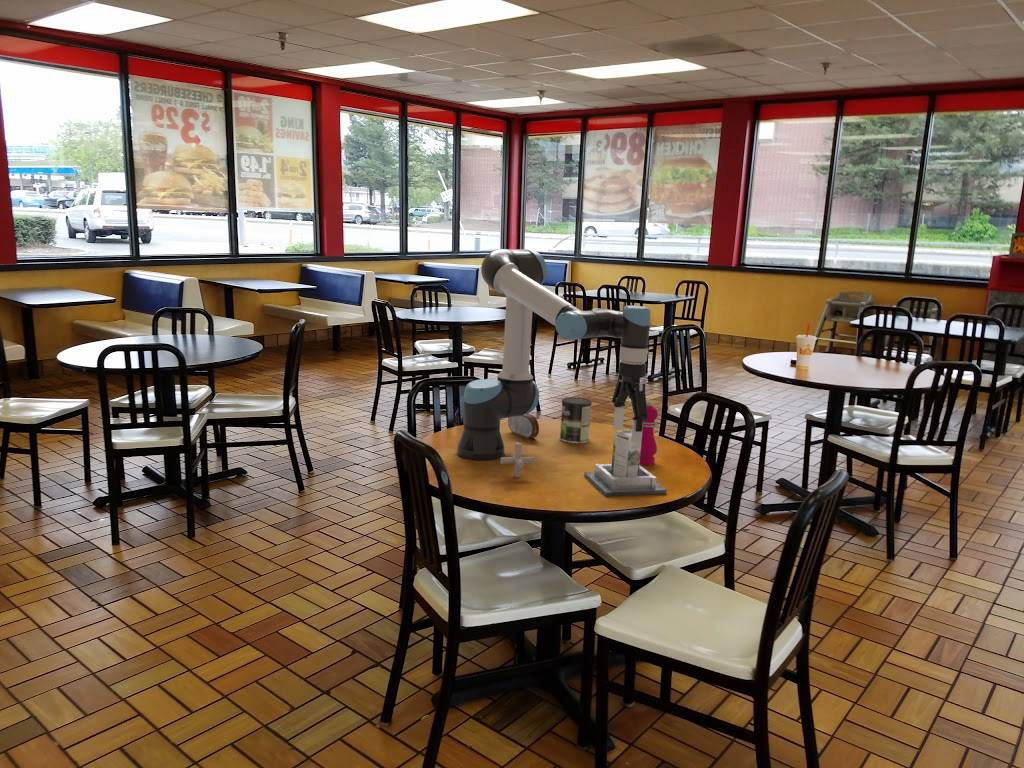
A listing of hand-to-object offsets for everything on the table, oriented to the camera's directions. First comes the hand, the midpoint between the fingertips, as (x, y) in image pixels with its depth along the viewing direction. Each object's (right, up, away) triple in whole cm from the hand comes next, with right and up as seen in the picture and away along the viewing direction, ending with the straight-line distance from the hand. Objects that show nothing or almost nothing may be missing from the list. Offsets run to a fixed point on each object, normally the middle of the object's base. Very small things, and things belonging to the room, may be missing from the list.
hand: (626, 435), depth 214 cm
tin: (-29, -4, +51) cm, 59 cm away
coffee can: (-11, -5, +49) cm, 50 cm away
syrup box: (0, -13, +2) cm, 14 cm away
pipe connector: (-31, -13, +6) cm, 34 cm away
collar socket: (0, -14, +3) cm, 15 cm away
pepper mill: (+9, -10, +25) cm, 29 cm away
